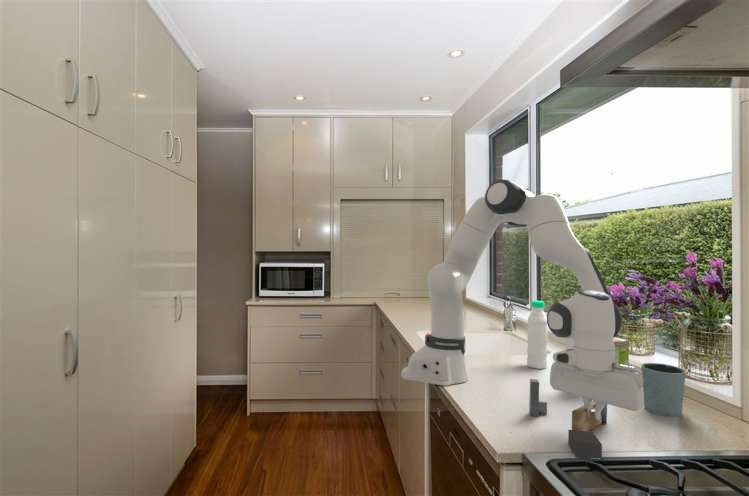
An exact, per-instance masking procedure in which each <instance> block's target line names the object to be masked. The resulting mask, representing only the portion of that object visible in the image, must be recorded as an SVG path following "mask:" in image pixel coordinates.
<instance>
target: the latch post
mask: <svg viewBox="0 0 749 496" xmlns="http://www.w3.org/2000/svg"><path fill="white" fill-rule="evenodd" d="M528 405H529V408H528V409H529V413H528V414H529V416H530V417H536V418H537V417H539V414H540V415H548V402H547V401H542V400H540V381H539V379H537V378H536V379H533V378H529V404H528Z"/></svg>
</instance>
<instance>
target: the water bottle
mask: <svg viewBox="0 0 749 496" xmlns="http://www.w3.org/2000/svg"><path fill="white" fill-rule="evenodd" d="M530 305H531V310H532V311H531V312H530V314H529V315H528V317H527V323H528V324H527V349H526V350H527V351H526V353H527V357H526V365H527V367H529V368H531V369H535V370H545V369H546V368H547V366H548V361H547V358H548V357H547V356H548V350H547V348H548V324H547V315H546V313H545V311H544V309H545V307H546V303H545V301H543V300H532V301H531V303H530Z"/></svg>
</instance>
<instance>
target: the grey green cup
mask: <svg viewBox="0 0 749 496" xmlns="http://www.w3.org/2000/svg"><path fill="white" fill-rule="evenodd" d="M640 366H641V373H642V375H643V387H642V389H643V395H644V406H643V407H644V408H645V410H646V411H648V412H650V413H652V414H655V415H659V416H664V417H670V418H671V417H672V418H679V417H682V415H683V403H684V396H685V384H686V378H687V377H686V376H687V371H686V370H685V369H684V368H682V367H679V366H676V365H675V366H674V365H671V364H666V363H656V362H645V363H642V364H641V365H640Z"/></svg>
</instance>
